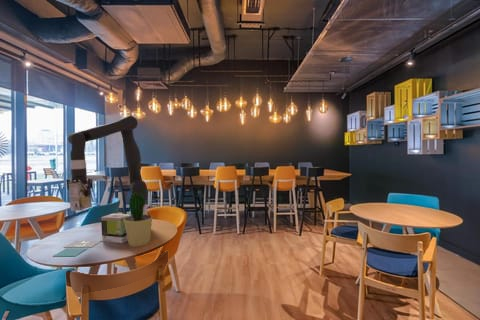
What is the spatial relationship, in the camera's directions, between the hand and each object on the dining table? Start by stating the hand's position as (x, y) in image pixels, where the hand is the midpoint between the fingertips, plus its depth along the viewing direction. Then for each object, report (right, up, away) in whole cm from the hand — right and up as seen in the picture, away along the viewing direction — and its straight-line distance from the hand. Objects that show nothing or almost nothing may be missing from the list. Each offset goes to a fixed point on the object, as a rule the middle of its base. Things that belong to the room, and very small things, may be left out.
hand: (80, 196), depth 152 cm
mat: (+1, -28, -11) cm, 30 cm away
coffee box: (0, -7, 0) cm, 7 cm away
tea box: (+18, -27, +8) cm, 33 cm away
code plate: (+1, -28, +1) cm, 28 cm away
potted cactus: (+33, -27, +1) cm, 43 cm away
